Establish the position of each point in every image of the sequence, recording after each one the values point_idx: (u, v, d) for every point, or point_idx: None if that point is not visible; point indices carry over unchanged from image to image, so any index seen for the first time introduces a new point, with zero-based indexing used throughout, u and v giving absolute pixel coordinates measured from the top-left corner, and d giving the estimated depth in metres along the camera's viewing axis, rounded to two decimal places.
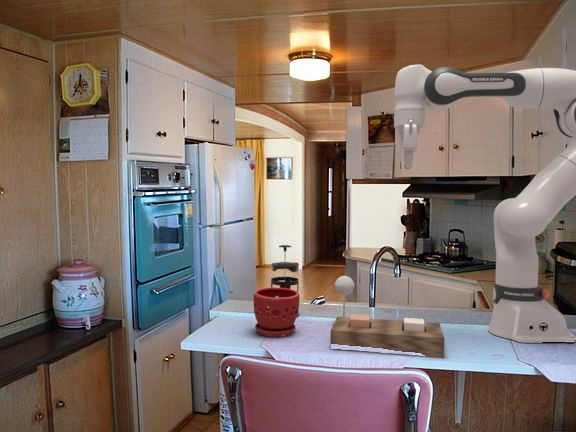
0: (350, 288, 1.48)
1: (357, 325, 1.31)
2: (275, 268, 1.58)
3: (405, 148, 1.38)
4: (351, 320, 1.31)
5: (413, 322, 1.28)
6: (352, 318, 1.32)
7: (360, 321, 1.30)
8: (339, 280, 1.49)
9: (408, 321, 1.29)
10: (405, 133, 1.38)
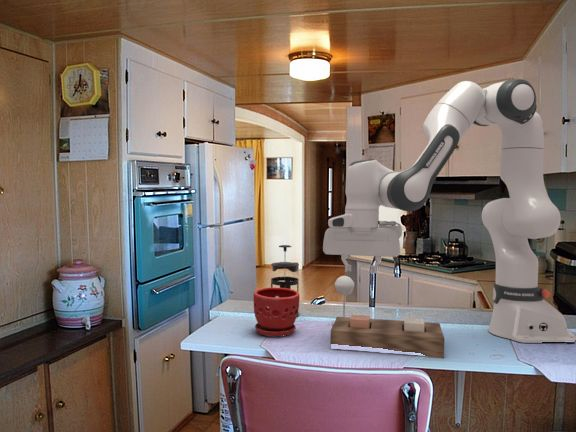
0: (350, 288, 1.48)
1: (357, 325, 1.31)
2: (275, 268, 1.58)
3: (398, 254, 1.29)
4: (351, 320, 1.31)
5: (413, 322, 1.28)
6: (352, 318, 1.32)
7: (360, 321, 1.30)
8: (339, 280, 1.49)
9: (408, 321, 1.29)
10: (398, 239, 1.28)
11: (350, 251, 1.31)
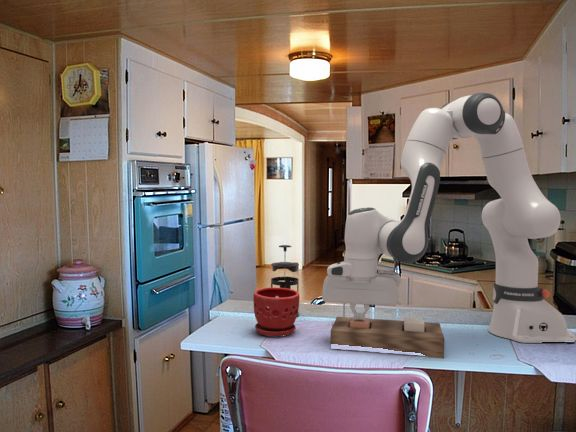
0: None
1: None
2: (275, 268, 1.58)
3: None
4: (351, 323, 1.31)
5: (413, 322, 1.28)
6: (352, 321, 1.32)
7: (360, 324, 1.30)
8: None
9: (408, 321, 1.29)
10: (397, 288, 1.29)
11: (349, 299, 1.31)
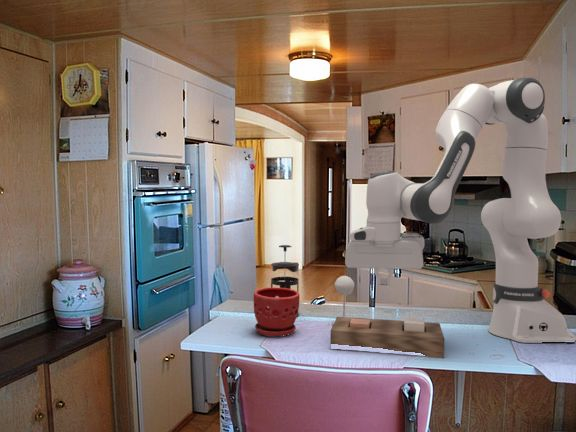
0: (350, 288, 1.48)
1: None
2: (275, 268, 1.58)
3: None
4: (351, 324, 1.31)
5: (413, 322, 1.28)
6: (352, 322, 1.32)
7: (360, 325, 1.30)
8: (339, 280, 1.49)
9: (408, 321, 1.29)
10: (421, 251, 1.27)
11: (373, 264, 1.30)
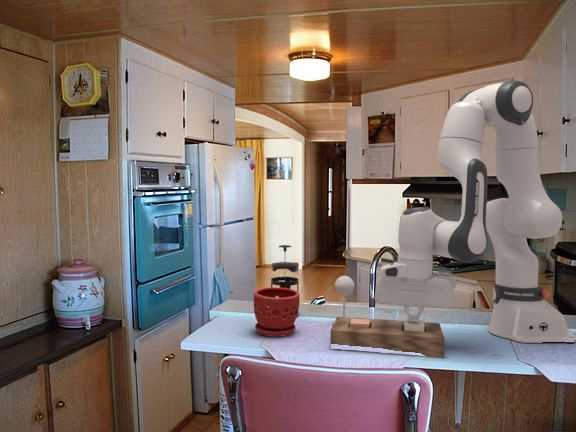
0: (350, 288, 1.48)
1: None
2: (275, 268, 1.58)
3: None
4: (351, 324, 1.31)
5: (413, 324, 1.28)
6: (352, 322, 1.32)
7: (360, 325, 1.30)
8: (339, 280, 1.49)
9: (408, 323, 1.29)
10: (453, 290, 1.26)
11: (403, 301, 1.28)
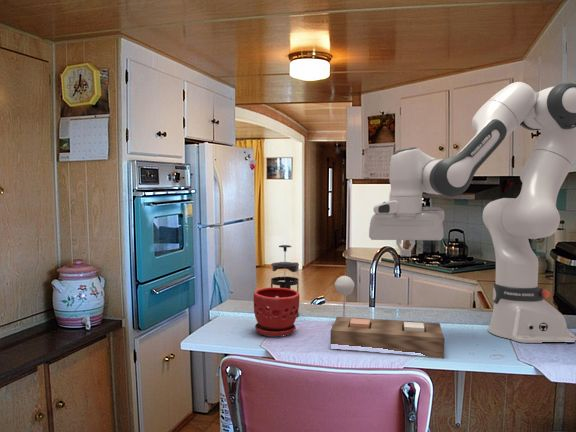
0: (350, 288, 1.48)
1: None
2: (275, 268, 1.58)
3: None
4: (351, 324, 1.31)
5: (413, 326, 1.28)
6: (352, 322, 1.32)
7: (360, 325, 1.30)
8: (339, 280, 1.49)
9: (408, 325, 1.29)
10: None
11: (395, 236, 1.37)
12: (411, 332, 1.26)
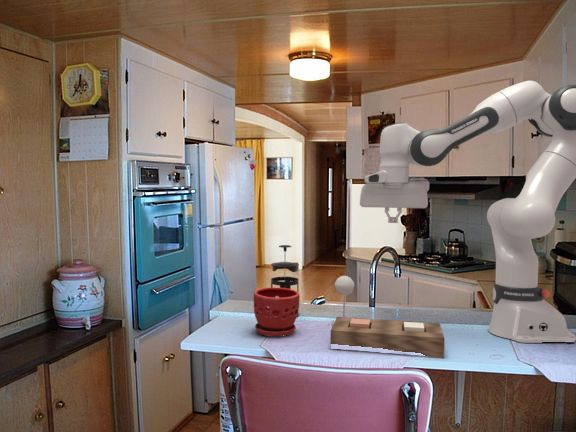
0: (350, 288, 1.48)
1: None
2: (275, 268, 1.58)
3: (426, 206, 1.48)
4: (351, 324, 1.31)
5: (413, 326, 1.28)
6: (352, 322, 1.32)
7: (360, 325, 1.30)
8: (339, 280, 1.49)
9: (408, 325, 1.29)
10: (426, 192, 1.47)
11: (384, 204, 1.50)
12: (411, 332, 1.26)
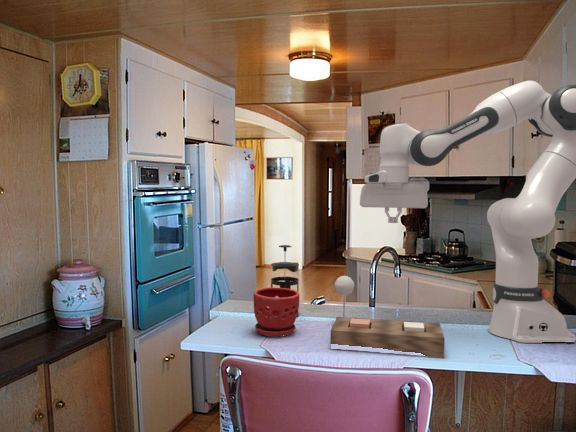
0: (350, 288, 1.48)
1: None
2: (275, 268, 1.58)
3: (426, 206, 1.48)
4: (351, 324, 1.31)
5: (413, 326, 1.28)
6: (352, 322, 1.32)
7: (360, 325, 1.30)
8: (339, 280, 1.49)
9: (408, 325, 1.29)
10: (426, 192, 1.47)
11: (384, 204, 1.50)
12: (411, 332, 1.26)
